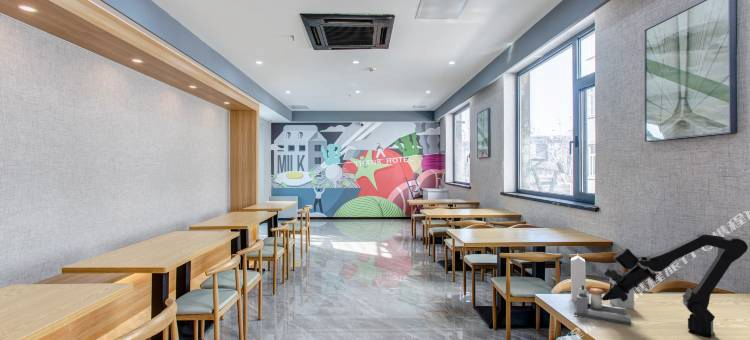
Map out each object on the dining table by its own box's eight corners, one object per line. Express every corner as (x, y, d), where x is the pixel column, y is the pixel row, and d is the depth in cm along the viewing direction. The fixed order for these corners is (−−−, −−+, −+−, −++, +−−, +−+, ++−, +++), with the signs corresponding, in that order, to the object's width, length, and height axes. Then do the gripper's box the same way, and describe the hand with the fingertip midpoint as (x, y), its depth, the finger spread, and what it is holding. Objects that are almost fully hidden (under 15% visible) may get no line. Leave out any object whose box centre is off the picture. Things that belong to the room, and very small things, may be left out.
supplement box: (634, 308, 166) (634, 280, 166) (616, 307, 167) (616, 279, 167) (626, 303, 173) (626, 276, 173) (609, 302, 174) (609, 275, 174)
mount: (630, 317, 156) (630, 298, 156) (630, 326, 147) (630, 305, 147) (576, 308, 167) (576, 290, 167) (574, 315, 158) (574, 296, 158)
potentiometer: (587, 294, 161) (587, 285, 161) (586, 296, 159) (586, 287, 159) (579, 293, 163) (579, 284, 163) (578, 295, 161) (578, 285, 161)
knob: (603, 310, 159) (603, 288, 159) (602, 314, 154) (602, 292, 154) (590, 308, 162) (590, 287, 162) (589, 312, 157) (589, 290, 157)
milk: (571, 300, 177) (570, 254, 177) (571, 296, 183) (570, 251, 183) (586, 302, 175) (585, 255, 175) (585, 298, 180) (584, 252, 180)
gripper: (617, 257, 162) (588, 278, 168) (617, 266, 146) (585, 289, 152) (639, 278, 157) (609, 299, 163) (642, 290, 142) (608, 312, 148)
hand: (602, 299), depth 157 cm, fingers closed, pressing on knob
